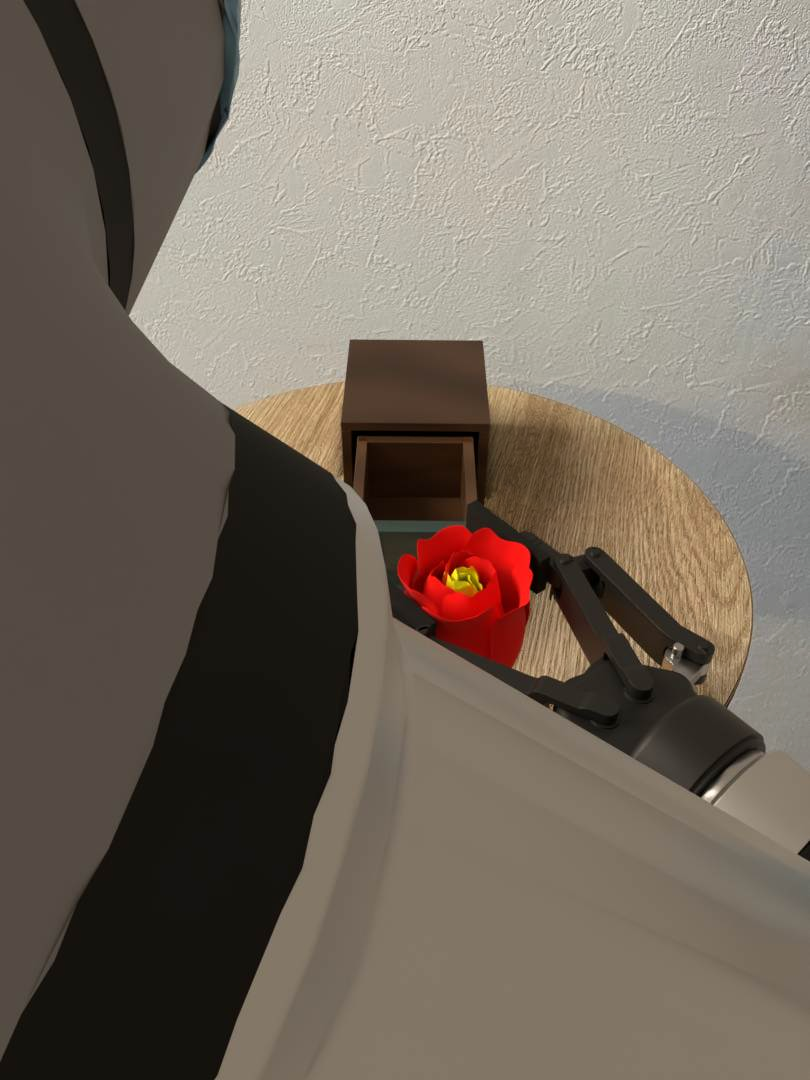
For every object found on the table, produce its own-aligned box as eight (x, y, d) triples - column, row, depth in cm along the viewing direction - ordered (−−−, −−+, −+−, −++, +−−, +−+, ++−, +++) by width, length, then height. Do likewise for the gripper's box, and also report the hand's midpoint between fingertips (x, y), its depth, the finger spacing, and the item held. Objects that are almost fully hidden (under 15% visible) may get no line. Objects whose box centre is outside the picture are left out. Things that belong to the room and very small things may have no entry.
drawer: (487, 644, 68) (493, 574, 64) (339, 642, 68) (335, 572, 64) (477, 502, 80) (482, 434, 75) (351, 500, 80) (348, 433, 75)
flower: (454, 596, 64) (460, 503, 59) (551, 654, 60) (567, 560, 55) (375, 665, 60) (373, 571, 54) (474, 732, 56) (482, 638, 50)
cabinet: (484, 509, 81) (490, 423, 75) (344, 507, 81) (340, 422, 75) (477, 422, 90) (482, 340, 84) (352, 420, 90) (349, 339, 84)
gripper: (554, 977, 43) (277, 668, 56) (826, 741, 53) (534, 525, 66) (575, 892, 38) (265, 574, 51) (871, 649, 48) (546, 435, 61)
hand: (417, 547), depth 59 cm, fingers closed on flower, 8 cm apart
